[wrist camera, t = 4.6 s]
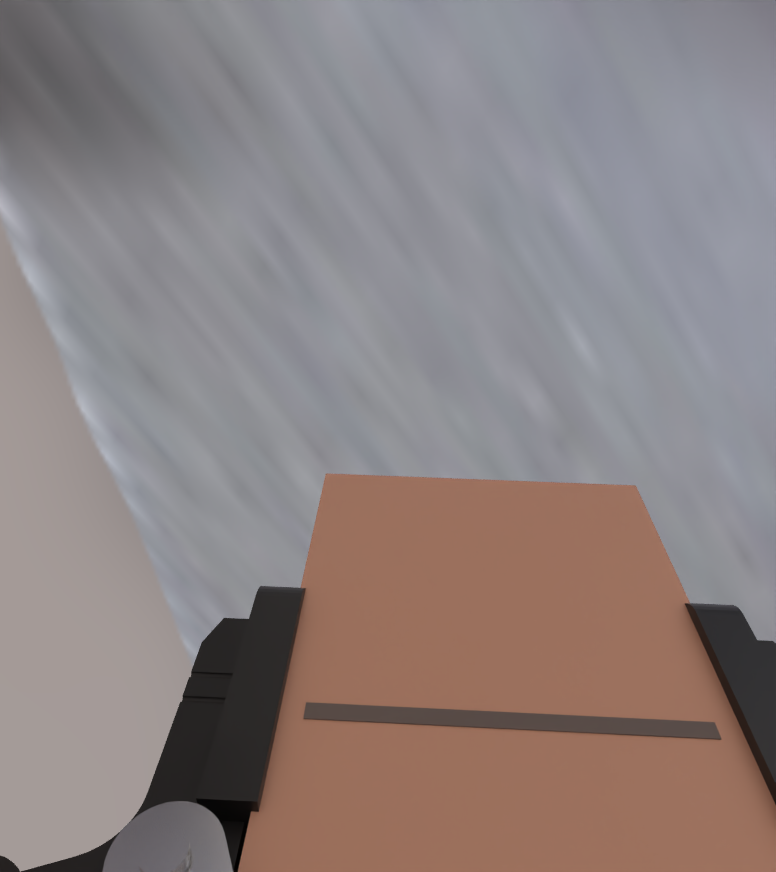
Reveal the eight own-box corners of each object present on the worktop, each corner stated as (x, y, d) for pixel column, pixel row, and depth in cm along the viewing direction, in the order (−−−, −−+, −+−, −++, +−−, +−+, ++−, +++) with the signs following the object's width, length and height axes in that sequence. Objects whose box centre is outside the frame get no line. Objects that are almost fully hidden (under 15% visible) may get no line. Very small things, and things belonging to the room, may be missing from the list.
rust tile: (326, 472, 14) (102, 1479, 4) (635, 484, 14) (1135, 1564, 4) (328, 546, 15) (149, 1507, 5) (618, 558, 14) (992, 1577, 5)
